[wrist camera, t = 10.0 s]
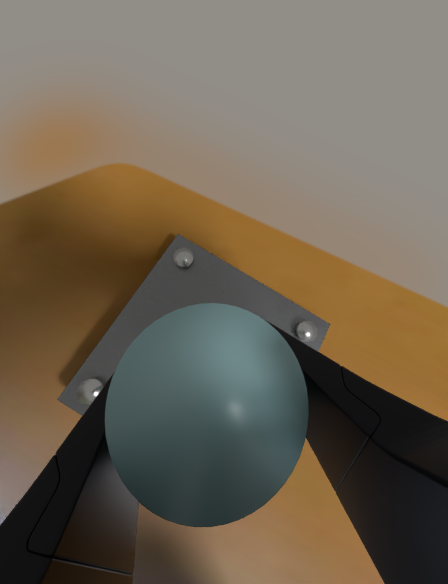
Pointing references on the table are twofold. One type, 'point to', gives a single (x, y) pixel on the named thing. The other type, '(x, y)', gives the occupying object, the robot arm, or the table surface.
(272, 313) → the plate
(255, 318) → the light blue flanged post
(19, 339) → the table surface
